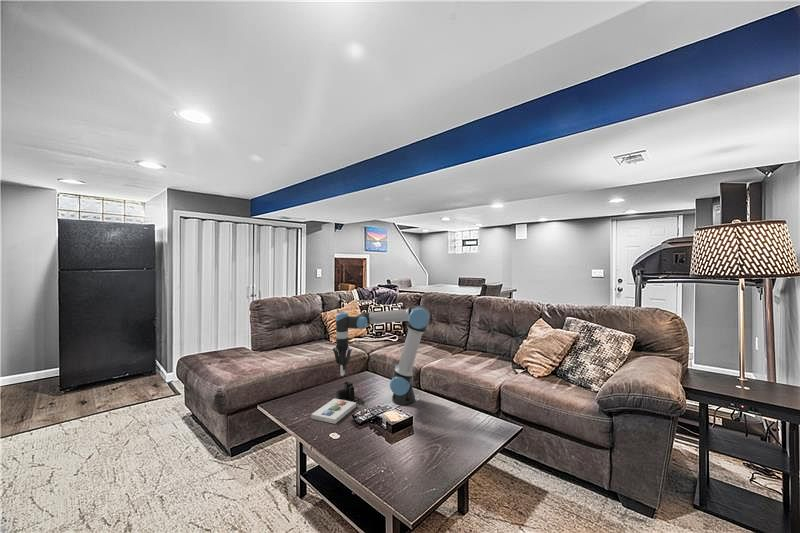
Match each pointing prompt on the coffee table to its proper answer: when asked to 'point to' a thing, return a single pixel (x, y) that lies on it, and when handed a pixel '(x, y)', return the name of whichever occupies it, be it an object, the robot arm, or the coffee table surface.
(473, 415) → the coffee table surface
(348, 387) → the camera
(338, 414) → the panel
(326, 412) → the button slate
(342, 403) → the button terracotta
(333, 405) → the button sage
